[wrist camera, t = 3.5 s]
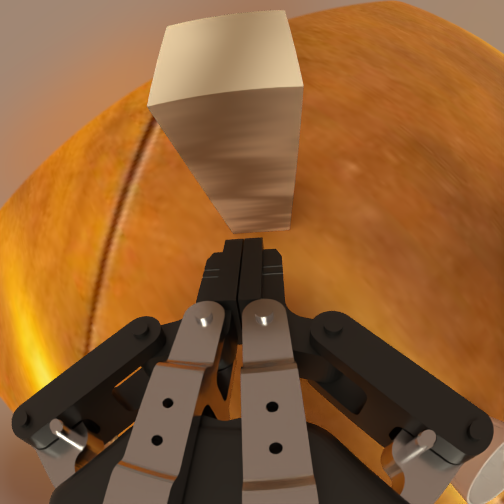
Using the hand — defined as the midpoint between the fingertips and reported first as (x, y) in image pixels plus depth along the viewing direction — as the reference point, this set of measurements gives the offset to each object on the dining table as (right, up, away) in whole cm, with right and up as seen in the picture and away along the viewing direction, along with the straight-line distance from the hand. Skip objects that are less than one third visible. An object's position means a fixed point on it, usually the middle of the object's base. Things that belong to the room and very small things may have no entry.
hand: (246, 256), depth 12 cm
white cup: (+22, -20, +8) cm, 31 cm away
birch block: (+1, +4, +14) cm, 15 cm away
